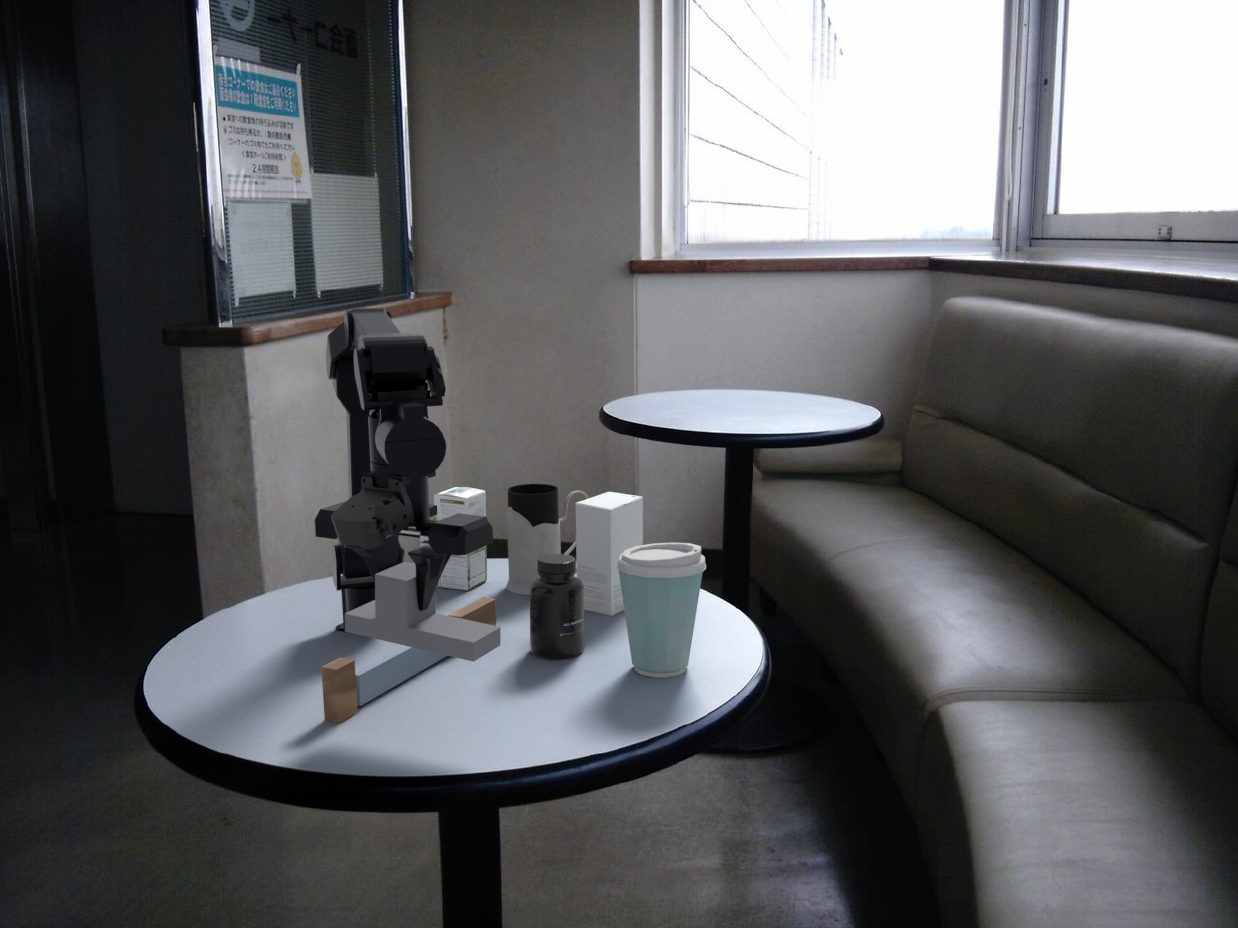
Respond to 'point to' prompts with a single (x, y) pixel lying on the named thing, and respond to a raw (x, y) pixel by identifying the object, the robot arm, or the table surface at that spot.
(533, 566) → the glass holder
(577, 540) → the skincare box
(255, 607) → the table surface
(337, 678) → the wooden blocks
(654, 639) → the disposable coffee cup
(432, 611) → the gray t-shaped pedestal
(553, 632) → the supplement bottle
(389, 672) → the door leaf
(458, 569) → the syrup box
